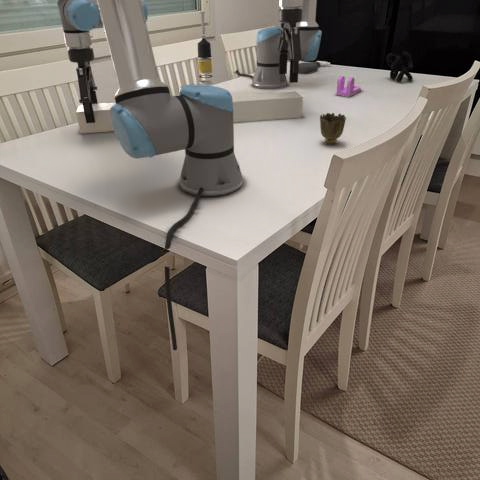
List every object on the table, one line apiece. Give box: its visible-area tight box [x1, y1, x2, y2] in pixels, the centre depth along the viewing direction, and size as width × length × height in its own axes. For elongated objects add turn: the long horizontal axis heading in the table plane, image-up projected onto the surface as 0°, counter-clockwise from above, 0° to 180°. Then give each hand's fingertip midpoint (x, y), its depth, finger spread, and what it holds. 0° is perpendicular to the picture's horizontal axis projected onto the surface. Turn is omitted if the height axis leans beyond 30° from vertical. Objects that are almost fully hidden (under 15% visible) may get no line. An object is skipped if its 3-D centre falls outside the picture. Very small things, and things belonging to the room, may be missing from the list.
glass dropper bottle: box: [197, 11, 214, 86], centre depth 181 cm, size 6×6×30 cm
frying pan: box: [298, 60, 331, 75], centre depth 223 cm, size 3×11×24 cm
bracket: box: [335, 75, 362, 98], centre depth 181 cm, size 13×6×7 cm, turn 143°
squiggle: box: [385, 51, 414, 83], centre depth 198 cm, size 11×10×15 cm
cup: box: [319, 112, 347, 145], centre depth 131 cm, size 8×7×8 cm
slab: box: [75, 90, 304, 134], centre depth 152 cm, size 75×9×7 cm, turn 100°
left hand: (92, 116), depth 147 cm, fingers open, 13 cm apart
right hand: (287, 78), depth 152 cm, fingers open, 13 cm apart
